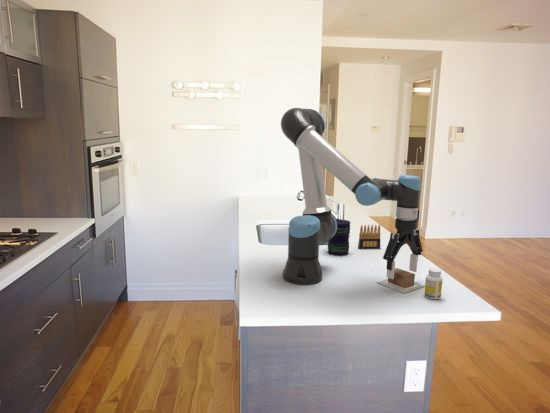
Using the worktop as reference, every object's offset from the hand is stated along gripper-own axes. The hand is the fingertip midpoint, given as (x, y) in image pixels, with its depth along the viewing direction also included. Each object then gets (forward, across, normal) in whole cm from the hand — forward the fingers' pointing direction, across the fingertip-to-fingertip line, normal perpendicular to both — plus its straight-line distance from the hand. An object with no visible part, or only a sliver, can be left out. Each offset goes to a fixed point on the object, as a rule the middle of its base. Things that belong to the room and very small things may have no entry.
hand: (401, 274), depth 153 cm
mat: (+4, 0, 0) cm, 4 cm away
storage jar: (+4, +9, +42) cm, 43 cm away
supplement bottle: (+4, 0, -13) cm, 14 cm away
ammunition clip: (+4, +27, +39) cm, 48 cm away
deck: (+4, 0, 0) cm, 4 cm away
